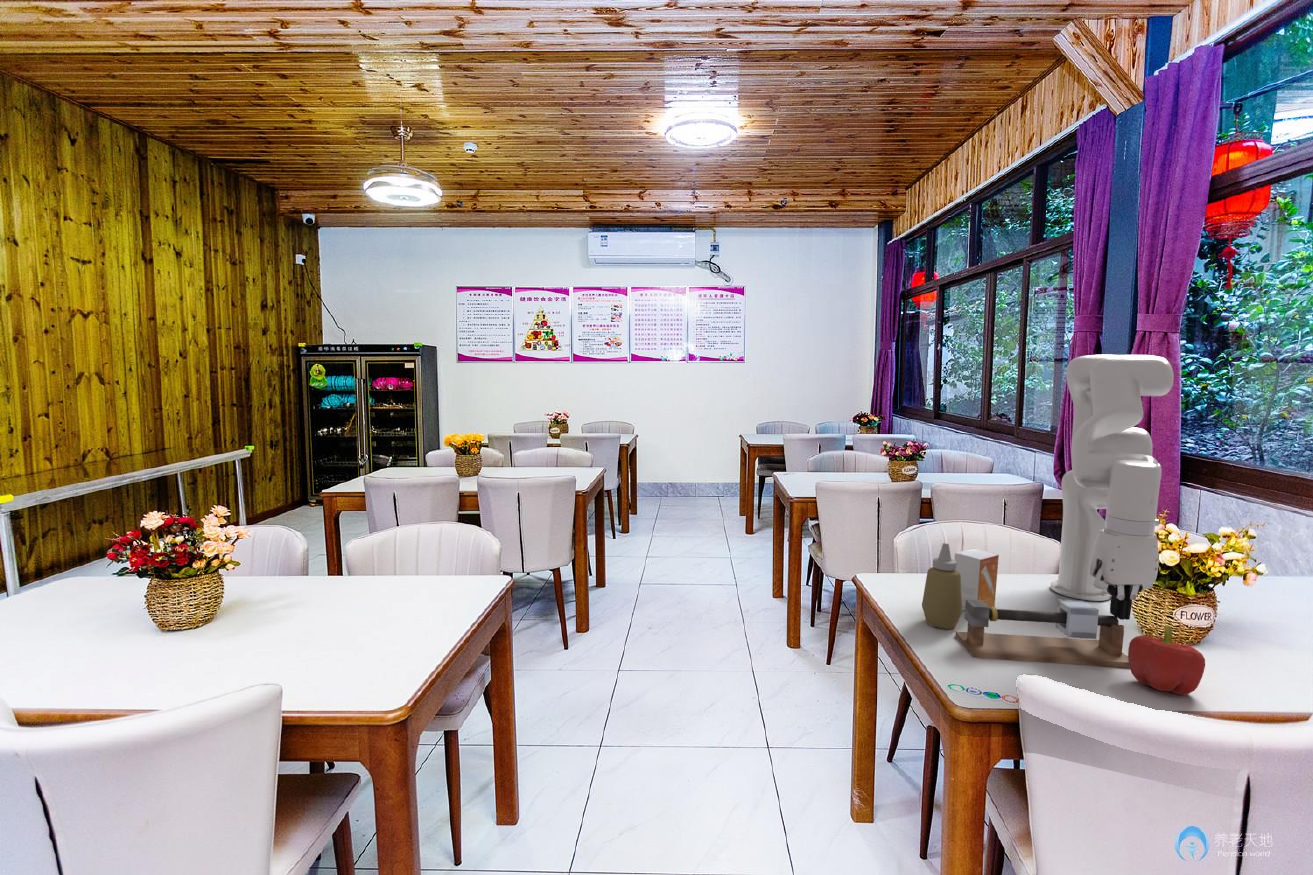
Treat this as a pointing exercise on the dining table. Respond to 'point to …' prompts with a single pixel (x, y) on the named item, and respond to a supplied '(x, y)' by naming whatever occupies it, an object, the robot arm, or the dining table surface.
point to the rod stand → (1040, 639)
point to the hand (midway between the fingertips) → (1119, 616)
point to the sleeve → (1078, 619)
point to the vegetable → (1165, 663)
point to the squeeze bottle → (943, 592)
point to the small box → (977, 575)
